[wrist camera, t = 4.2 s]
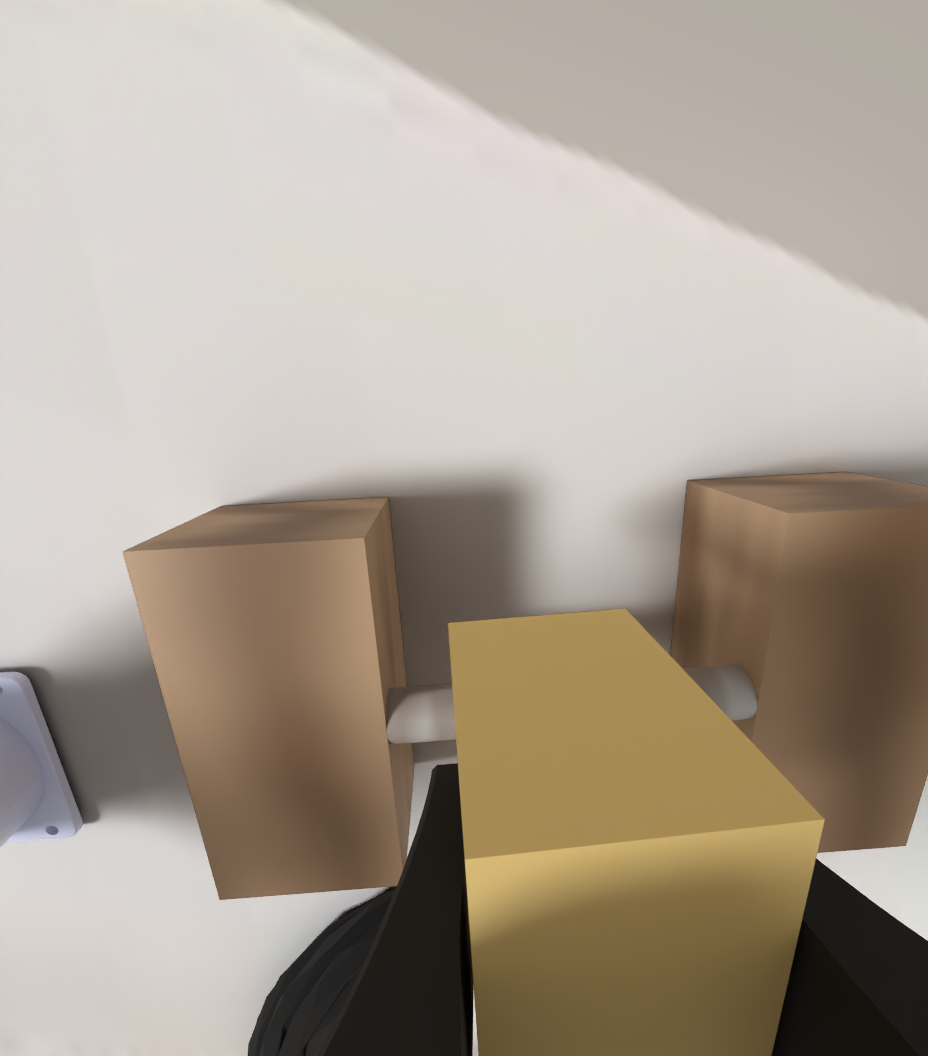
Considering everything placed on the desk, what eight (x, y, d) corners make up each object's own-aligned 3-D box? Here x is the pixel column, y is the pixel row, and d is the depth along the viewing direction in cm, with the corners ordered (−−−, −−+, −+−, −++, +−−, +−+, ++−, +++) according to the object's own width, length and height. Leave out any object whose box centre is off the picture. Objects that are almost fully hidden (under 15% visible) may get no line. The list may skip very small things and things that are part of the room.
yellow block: (463, 843, 11) (487, 1186, 6) (448, 622, 10) (464, 859, 5) (613, 827, 12) (750, 1146, 7) (625, 608, 10) (824, 820, 5)
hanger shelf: (276, 774, 19) (219, 899, 14) (220, 505, 16) (122, 552, 11) (793, 737, 20) (905, 845, 15) (845, 471, 16) (1011, 500, 12)
